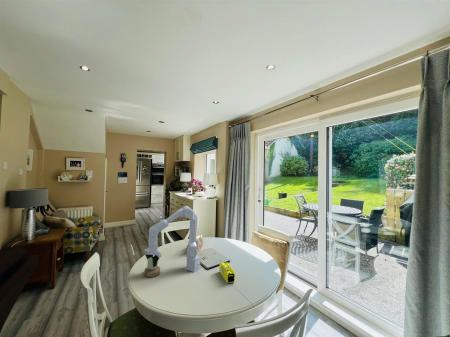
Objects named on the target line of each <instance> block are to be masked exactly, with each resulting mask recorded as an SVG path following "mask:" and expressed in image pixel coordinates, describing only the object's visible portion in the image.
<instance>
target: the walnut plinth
mask: <svg viewBox="0 0 450 337" xmlns="http://www.w3.org/2000/svg"><path fill="white" fill-rule="evenodd" d="M143 271H144V272H143V276H144V277H145V278H147V279H152V278H156V277H158V276H159V275H160V274H161V267H160V266H159V265H157V268H155V269H153V270H151V269H149V268H147V267H146V268H145V269H144V270H143Z"/></svg>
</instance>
